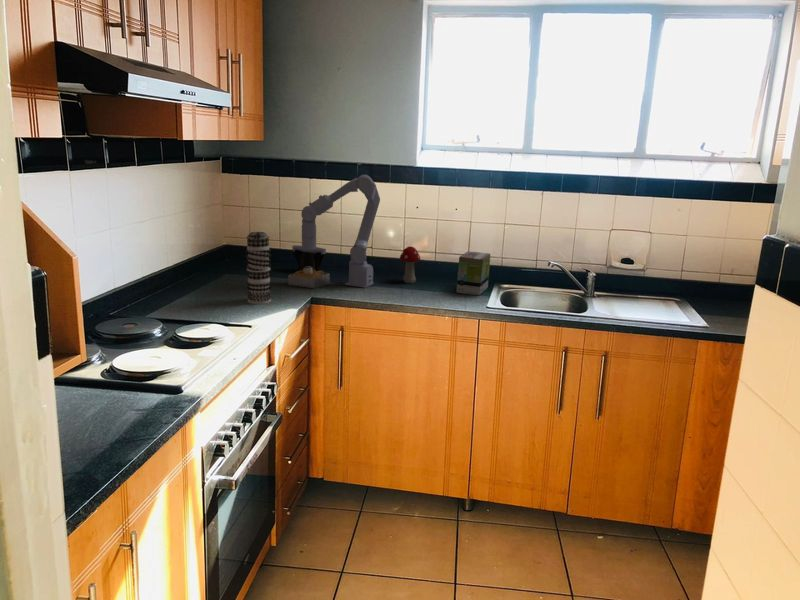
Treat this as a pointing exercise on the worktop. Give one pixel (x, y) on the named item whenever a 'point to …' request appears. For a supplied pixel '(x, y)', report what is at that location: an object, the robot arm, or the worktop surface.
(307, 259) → the mug
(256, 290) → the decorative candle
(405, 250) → the decorative mushroom
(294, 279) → the housing
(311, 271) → the canister
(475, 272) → the tea box
